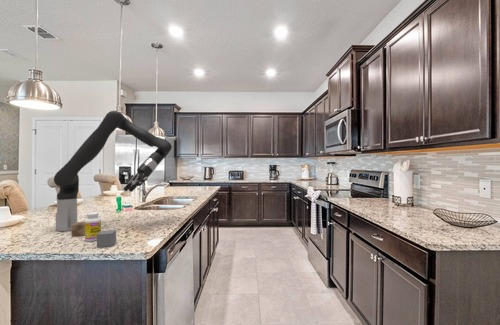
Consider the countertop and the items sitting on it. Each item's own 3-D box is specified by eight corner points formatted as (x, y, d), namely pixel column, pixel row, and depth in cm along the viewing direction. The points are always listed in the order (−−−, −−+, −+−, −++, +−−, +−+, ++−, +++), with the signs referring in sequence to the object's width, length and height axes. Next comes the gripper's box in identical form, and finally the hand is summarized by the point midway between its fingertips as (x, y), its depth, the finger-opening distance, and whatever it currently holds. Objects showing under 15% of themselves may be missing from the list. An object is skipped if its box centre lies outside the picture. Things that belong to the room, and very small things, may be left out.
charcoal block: (96, 248, 110) (96, 234, 110) (102, 243, 116) (102, 230, 116) (111, 247, 111) (111, 233, 111) (116, 242, 117) (116, 229, 117)
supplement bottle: (89, 242, 117) (88, 215, 117) (82, 240, 121) (81, 213, 121) (103, 238, 123) (103, 212, 123) (96, 236, 126) (96, 211, 126)
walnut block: (71, 237, 126) (71, 225, 126) (77, 233, 132) (77, 222, 132) (84, 236, 128) (84, 224, 127) (90, 233, 133) (89, 221, 133)
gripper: (136, 163, 147) (115, 185, 138) (150, 163, 139) (129, 186, 129) (144, 171, 152) (125, 194, 142) (159, 172, 143) (139, 195, 134)
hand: (127, 190), depth 136 cm, fingers open, 4 cm apart
